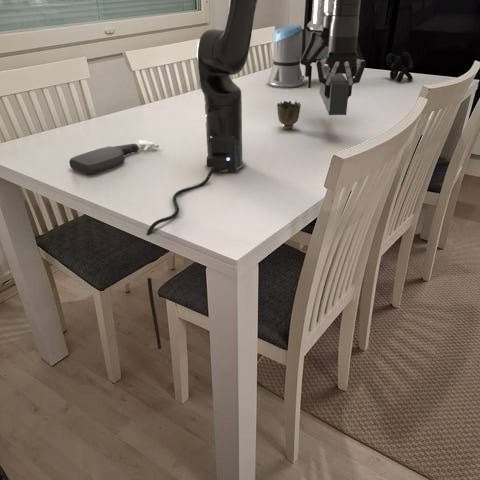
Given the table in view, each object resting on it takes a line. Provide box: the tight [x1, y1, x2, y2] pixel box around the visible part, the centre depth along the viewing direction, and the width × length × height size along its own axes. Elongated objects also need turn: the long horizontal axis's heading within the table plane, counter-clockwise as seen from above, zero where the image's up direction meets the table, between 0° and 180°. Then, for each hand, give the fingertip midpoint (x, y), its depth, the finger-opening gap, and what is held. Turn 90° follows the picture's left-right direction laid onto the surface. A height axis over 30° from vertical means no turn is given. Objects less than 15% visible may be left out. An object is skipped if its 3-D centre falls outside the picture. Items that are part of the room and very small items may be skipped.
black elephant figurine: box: [385, 51, 414, 83], centre depth 198 cm, size 11×10×15 cm
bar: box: [319, 65, 350, 116], centre depth 136 cm, size 26×5×9 cm, turn 177°
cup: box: [276, 100, 302, 131], centre depth 143 cm, size 8×7×8 cm
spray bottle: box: [68, 139, 160, 177], centre depth 124 cm, size 3×11×24 cm
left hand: (337, 97), depth 129 cm, fingers closed on bar, 5 cm apart
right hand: (329, 87), depth 145 cm, fingers open, 12 cm apart
